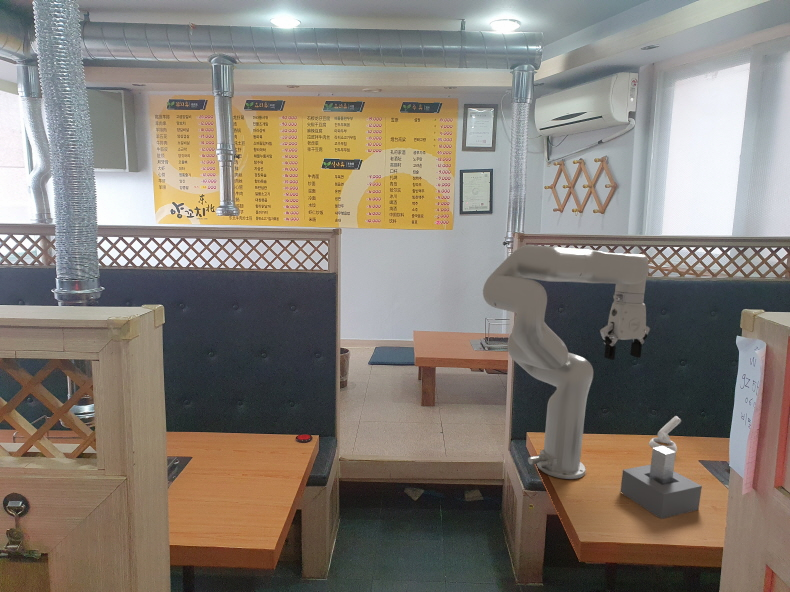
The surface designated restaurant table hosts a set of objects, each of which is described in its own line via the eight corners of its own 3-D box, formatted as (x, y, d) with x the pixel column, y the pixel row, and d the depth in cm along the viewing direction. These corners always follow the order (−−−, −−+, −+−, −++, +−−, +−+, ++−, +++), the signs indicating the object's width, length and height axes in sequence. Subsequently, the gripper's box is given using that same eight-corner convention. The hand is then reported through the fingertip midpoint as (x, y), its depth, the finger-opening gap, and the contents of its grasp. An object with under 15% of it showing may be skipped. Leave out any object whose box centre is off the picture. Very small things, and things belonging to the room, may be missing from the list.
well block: (661, 518, 118) (664, 494, 117) (620, 492, 129) (622, 469, 128) (698, 509, 123) (701, 485, 122) (656, 485, 133) (658, 463, 133)
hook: (701, 437, 152) (686, 425, 150) (670, 464, 155) (656, 453, 153) (685, 422, 159) (671, 411, 157) (656, 448, 162) (642, 438, 160)
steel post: (659, 506, 123) (665, 454, 122) (646, 498, 127) (652, 448, 125) (669, 503, 125) (675, 452, 123) (656, 495, 128) (662, 445, 126)
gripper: (615, 301, 139) (608, 363, 141) (662, 299, 145) (655, 359, 148) (595, 296, 146) (589, 356, 148) (641, 295, 152) (634, 352, 155)
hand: (622, 357), depth 148 cm, fingers open, 9 cm apart
